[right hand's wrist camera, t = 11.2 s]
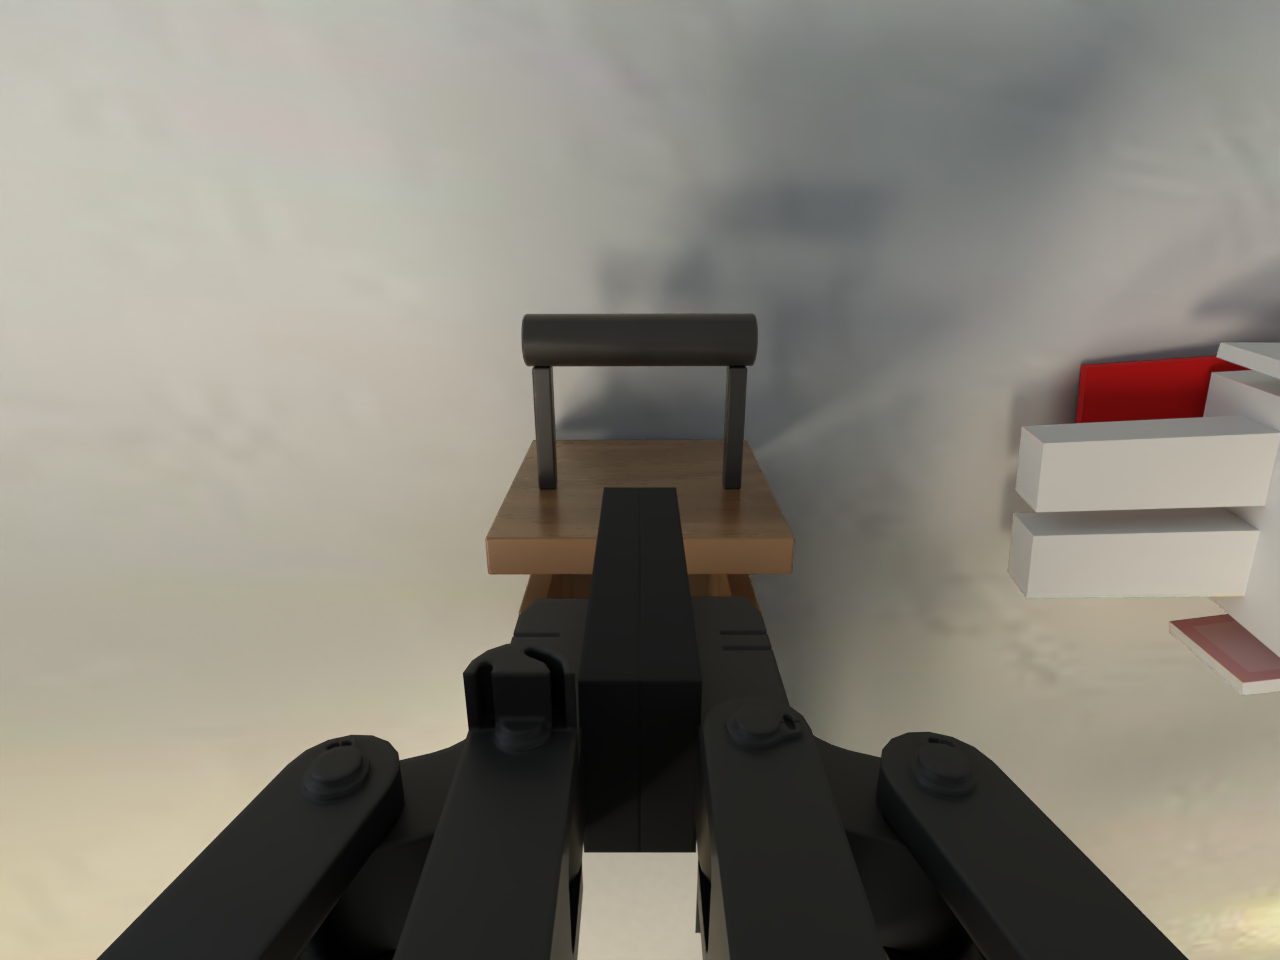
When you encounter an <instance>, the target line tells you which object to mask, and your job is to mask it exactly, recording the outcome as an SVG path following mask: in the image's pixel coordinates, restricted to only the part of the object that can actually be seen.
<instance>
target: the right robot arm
mask: <svg viewBox="0 0 1280 960" xmlns="http://www.w3.org/2000/svg"><path fill="white" fill-rule="evenodd" d="M463 678H464V688H465V697H466V707H467V717H468V727H469V731H468V734H467V737H466V739H465V740H463V741H461V742H459V743H457V744H455V745H453V746H451V747H449V748H446V749H443V750H440V751H437V752H433V753H430V754H425V755H421V756H417V757H413V758H408V759H404V760H400V761H399V755H398V752H397V751H396V750H395V749H394V747H393V746H392V745H391V744H390V743H389V742H388V741H386V740H383V739H380V738H378V737H375V736H372V735H349V736H344V737H340V738H335V739H331V740H327V741H325V742H323V743H321V744H319V745H316V746H314V747H312V748H310V749H308V750H306V751H305V752H303V753H302V754H301V755H299V756H298V757H297V758H296V759H294V760H293V761H292V762H290V763H289V764H288V765H287V766H286V767H285V768H284V769H283V770H282V771H281V772H280V773H279V774H278V775H277V776H276V777H275V778H274V779H273V780H272V781H271V782H270V783H269V784H268V785H267V786H266V787H265V788H264V789H263V790H262V791H261V792H260V793H259V794H258V795H257V796H256V797H255V798H254V800H253V801H252V802H251V803H250V804H249V805H248V806H247V807H246V808H245V809H244V810H243V811H242V812H241V813H240V814H239V815H238V816H237V817H236V818H235V819H234V820H233V821H232V822H231V823H230V824H229V825H228V826H227V827H226V828H225V829H224V830H223V831H222V832H221V833H220V834H219V835H218V836H217V837H216V838H215V839H214V840H213V841H212V842H211V843H210V844H209V845H208V846H207V847H206V848H205V849H204V850H203V852H202V853H201V854H200V855H199V856H198V857H197V858H196V859H195V860H194V861H193V862H192V863H191V864H190V865H189V866H188V867H187V868H186V869H185V870H184V871H183V872H182V873H181V874H180V875H179V876H178V877H177V878H176V879H175V880H174V881H173V882H172V883H171V884H170V885H169V886H168V887H167V888H166V889H165V890H164V891H163V892H162V893H161V894H160V895H159V896H158V897H157V898H156V899H155V900H154V901H153V903H152V904H151V905H150V906H149V907H148V908H147V909H146V910H145V911H144V912H143V913H142V914H141V915H140V916H139V917H138V918H137V919H136V920H135V921H134V922H133V923H132V924H131V925H130V926H129V927H128V928H127V929H126V930H125V931H124V932H123V933H122V934H121V935H120V936H119V937H118V938H117V939H116V940H115V941H114V942H113V943H112V944H111V945H110V946H109V947H108V948H107V949H106V950H105V951H104V952H103V953H102V955H101V956H100V957H99V958H98V959H97V960H577V958H578V946H579V934H580V922H581V909H582V897H583V874H582V854H583V843H584V853H696V840H697V851H698V874H697V900H696V927H695V933H701V945H702V957H703V960H1188V959H1187V958H1186V957H1185V956H1184V955H1183V954H1182V953H1181V951H1180V950H1179V949H1178V948H1177V947H1176V946H1175V945H1174V944H1173V943H1172V942H1171V941H1170V940H1169V939H1168V938H1167V937H1166V936H1165V935H1164V934H1163V933H1162V932H1161V931H1160V930H1159V929H1158V928H1157V927H1156V926H1155V925H1154V924H1153V923H1152V922H1151V921H1150V920H1149V919H1148V918H1147V917H1146V916H1145V915H1144V914H1143V913H1142V912H1141V911H1140V910H1139V909H1138V908H1137V907H1136V906H1135V905H1134V904H1133V903H1132V902H1131V901H1130V900H1129V899H1128V898H1127V897H1126V896H1125V895H1124V894H1123V893H1122V892H1121V891H1120V890H1119V889H1118V888H1117V887H1116V886H1115V885H1114V884H1113V883H1112V882H1111V881H1110V880H1109V879H1108V878H1107V877H1106V876H1105V875H1104V874H1103V872H1102V871H1101V870H1100V869H1099V868H1098V867H1097V866H1096V865H1095V864H1094V863H1093V862H1092V861H1091V860H1090V859H1089V858H1088V857H1087V856H1086V855H1085V854H1084V853H1083V852H1082V851H1081V850H1080V849H1079V848H1078V847H1077V846H1076V845H1075V844H1074V843H1073V842H1072V841H1071V840H1070V839H1069V838H1068V837H1067V836H1066V835H1065V834H1064V833H1063V832H1062V831H1061V830H1060V829H1059V828H1058V827H1057V826H1056V825H1055V824H1054V823H1053V822H1052V821H1051V820H1050V819H1049V818H1048V817H1047V816H1046V815H1045V814H1044V813H1043V812H1042V811H1041V810H1040V809H1039V808H1038V807H1037V806H1036V805H1035V804H1034V803H1033V802H1032V801H1031V800H1030V799H1029V798H1028V797H1027V796H1026V795H1025V793H1024V792H1023V791H1022V790H1021V789H1020V788H1019V787H1018V786H1017V785H1016V784H1015V783H1014V782H1013V781H1012V780H1011V779H1010V778H1009V777H1008V776H1007V775H1006V774H1005V773H1004V772H1003V771H1002V770H1001V769H1000V768H999V767H998V766H997V765H996V764H995V763H994V762H993V761H992V760H990V759H989V758H988V757H986V756H985V755H984V754H983V753H981V752H980V751H979V750H977V749H976V748H975V747H973V746H971V745H969V744H966V743H964V742H962V741H960V740H958V739H955V738H953V737H950V736H945V735H941V734H936V733H932V732H909V733H906V734H903V735H900V736H898V737H895V738H892V739H891V740H890V741H889V743H888V744H887V745H886V746H885V747H884V748H883V750H882V755H881V758H880V757H876V756H871V755H867V754H863V753H858V752H854V751H850V750H846V749H843V748H840V747H837V746H834V745H831V744H829V743H827V742H825V741H823V740H821V739H819V738H817V737H815V736H814V735H813V733H812V730H811V728H810V727H809V725H808V724H807V722H806V720H805V719H804V717H803V716H802V715H801V714H799V713H798V712H797V711H795V710H794V709H793V708H791V707H790V706H789V702H788V699H787V696H786V693H785V689H784V686H783V683H782V680H781V676H780V673H779V670H778V667H777V663H776V660H775V657H774V654H773V650H771V644H770V641H769V637H768V635H767V631H766V628H765V624H764V621H763V618H762V615H761V612H760V611H759V610H758V609H757V608H755V607H754V606H753V605H752V604H751V603H750V602H749V601H748V600H747V599H746V598H745V597H691V594H690V587H689V579H688V572H687V565H686V557H685V550H684V542H683V535H682V528H681V520H680V513H679V505H678V498H677V490H676V487H604V490H603V498H602V505H601V513H600V520H599V528H598V535H597V542H596V550H595V557H594V565H593V572H592V579H591V587H590V594H589V599H536V600H534V601H533V602H532V603H531V604H530V605H529V606H528V607H527V608H526V609H525V610H524V611H523V612H522V613H521V614H520V615H519V617H518V621H517V624H516V627H515V630H514V637H512V640H511V644H505V645H502V646H499V647H496V648H493V649H490V650H488V651H486V652H484V653H483V654H481V655H480V656H478V657H477V658H475V659H474V660H472V661H471V663H470V664H469V666H468V667H467V668H466V670H465V671H464V673H463Z"/></svg>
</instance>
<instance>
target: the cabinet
mask: <svg viewBox="0 0 1280 960" xmlns="http://www.w3.org/2000/svg"><path fill="white" fill-rule="evenodd" d="M582 874H583V897H582V909H581V922H580V934H579V946H578V958H577V960H703V957H702V945H701V933H695V927H696V900H697V874H698V851H697V840H696V853H584V843H583V854H582Z"/></svg>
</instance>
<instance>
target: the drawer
mask: <svg viewBox="0 0 1280 960" xmlns="http://www.w3.org/2000/svg"><path fill="white" fill-rule="evenodd" d="M757 344H758V328H757V320H756V316H755V315H754V314H526V315H524V318H523V321H522V352H523V358H524V362H525V364H526V366H534V367H533V369H532V375H533V394H534V412H535V430H536V440H533V442H532V444H531V446H530V448H529V450H528V452H527V454H526V456H525V458H524V460H523V462H522V464H521V466H520V468H519V471H518V473H517V475H516V477H515V479H514V481H513V483H512V485H511V487H510V489H509V491H508V493H507V495H506V497H505V499H504V501H503V504H502V506H501V508H500V510H499V512H498V514H497V516H496V518H495V520H494V522H493V524H492V526H491V528H490V530H489V532H488V534H487V537H486V539H485V542H486V554H487V566H488V573H489V574H531V575H530V578H529V581H528V584H527V588H526V591H525V594H524V597H523V600H522V604H521V607H520V610H519V615H520V614H521V613H522V612H523V611H524V610H525V609H526V608H527V607H528V606H529V605H530V604H531V603H532V602H533V601H534V600H536V599H589V594H590V587H591V579H592V572H593V565H594V557H595V550H596V542H597V535H598V528H599V520H600V513H601V505H602V498H603V490H604V487H676V490H677V498H678V505H679V513H680V520H681V528H682V535H683V542H684V550H685V557H686V565H687V572H688V579H689V587H690V594H691V597H745V598H746V599H747V600H748V601H749V602H750V603H751V604H752V605H753V606H754V607H755V608H757V609H758V610H759V611H760V612H761V610H760V607H759V603H758V600H757V597H756V594H755V591H754V587H753V584H752V581H751V578H750V574H791V573H792V566H793V553H794V541H795V539H794V536H793V534H792V532H791V530H790V528H789V526H788V524H787V522H786V520H785V518H784V516H783V514H782V512H781V510H780V508H779V505H778V503H777V501H776V499H775V497H774V495H773V493H772V491H771V489H770V487H769V485H768V483H767V481H766V479H765V477H764V475H763V473H762V471H761V469H760V467H759V464H758V462H757V460H756V458H755V456H754V454H753V452H752V450H751V448H750V446H749V444H748V442H747V440H744V423H745V403H746V384H747V367H746V366H752V365H754V362H755V359H756V354H757ZM552 366H727V376H726V400H725V425H724V440H556V434H555V412H554V389H553V367H552Z"/></svg>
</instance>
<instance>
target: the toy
mask: <svg viewBox="0 0 1280 960" xmlns="http://www.w3.org/2000/svg"><path fill="white" fill-rule="evenodd" d="M1016 492H1017V493H1018V494H1019V495H1020V496H1021V497H1022V498H1023V499H1024V500H1025V501H1026V502H1027V503H1028V504H1029V506H1030V507H1031V508H1032V509H1033V510H1034V511H1035V512H1027V513H1013V521H1012V531H1011V542H1010V552H1009V562H1008V573H1009V575H1010V576H1011V578H1012V579H1013V580H1014V582H1015V583H1016V585H1017V586H1018V587H1019V589H1020V590H1021V592H1022V593H1023V594H1024V596H1025V597H1026V599H1036V598H1126V597H1209V598H1210V599H1211V600H1213V601H1214V602H1215V603H1216V604H1217V605H1218V606H1220V607H1221V608H1222V609H1223V610H1224V611H1225V612H1227V613H1228V614H1225V615H1217V616H1208V617H1200V618H1192V619H1184V620H1176V621H1170V622H1169V633H1170V634H1172V635H1173V636H1174V637H1175V638H1176V639H1177V640H1179V641H1180V642H1181V643H1182V644H1183V645H1184V646H1186V647H1187V648H1188V649H1189V650H1190V651H1191V652H1192V653H1194V654H1195V655H1196V656H1197V657H1198V658H1199V659H1201V660H1202V661H1203V662H1204V663H1205V664H1206V665H1208V666H1209V667H1210V668H1211V669H1212V670H1213V671H1215V672H1216V673H1217V674H1218V675H1219V676H1220V677H1222V678H1223V679H1224V680H1225V681H1226V682H1227V683H1229V684H1230V685H1231V686H1232V687H1233V688H1234V689H1236V690H1237V691H1238V692H1239V693H1240V694H1241V695H1250V694H1260V693H1269V692H1278V691H1280V343H1263V342H1220V346H1219V349H1218V353H1217V356H1204V357H1190V358H1175V359H1161V360H1146V361H1132V362H1118V363H1103V364H1089V365H1081V374H1080V384H1079V394H1078V404H1077V414H1076V423H1073V424H1052V425H1031V426H1022V429H1021V440H1020V450H1019V460H1018V470H1017V480H1016Z"/></svg>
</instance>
